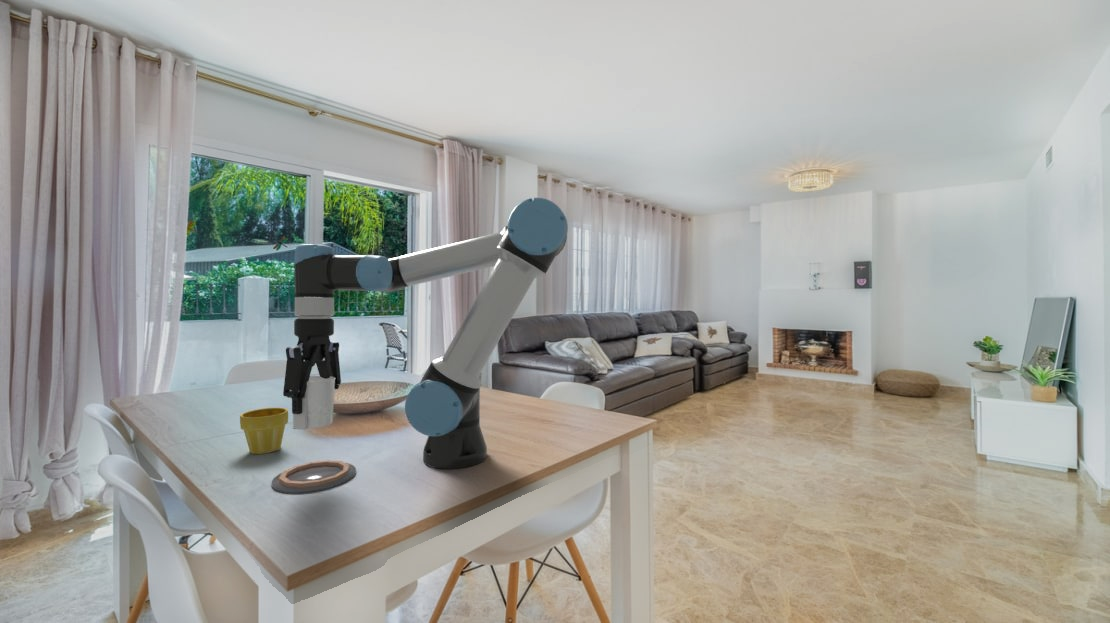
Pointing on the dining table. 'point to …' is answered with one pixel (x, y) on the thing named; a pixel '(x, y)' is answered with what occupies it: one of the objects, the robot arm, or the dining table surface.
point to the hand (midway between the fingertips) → (314, 423)
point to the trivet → (313, 476)
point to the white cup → (320, 401)
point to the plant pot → (264, 429)
